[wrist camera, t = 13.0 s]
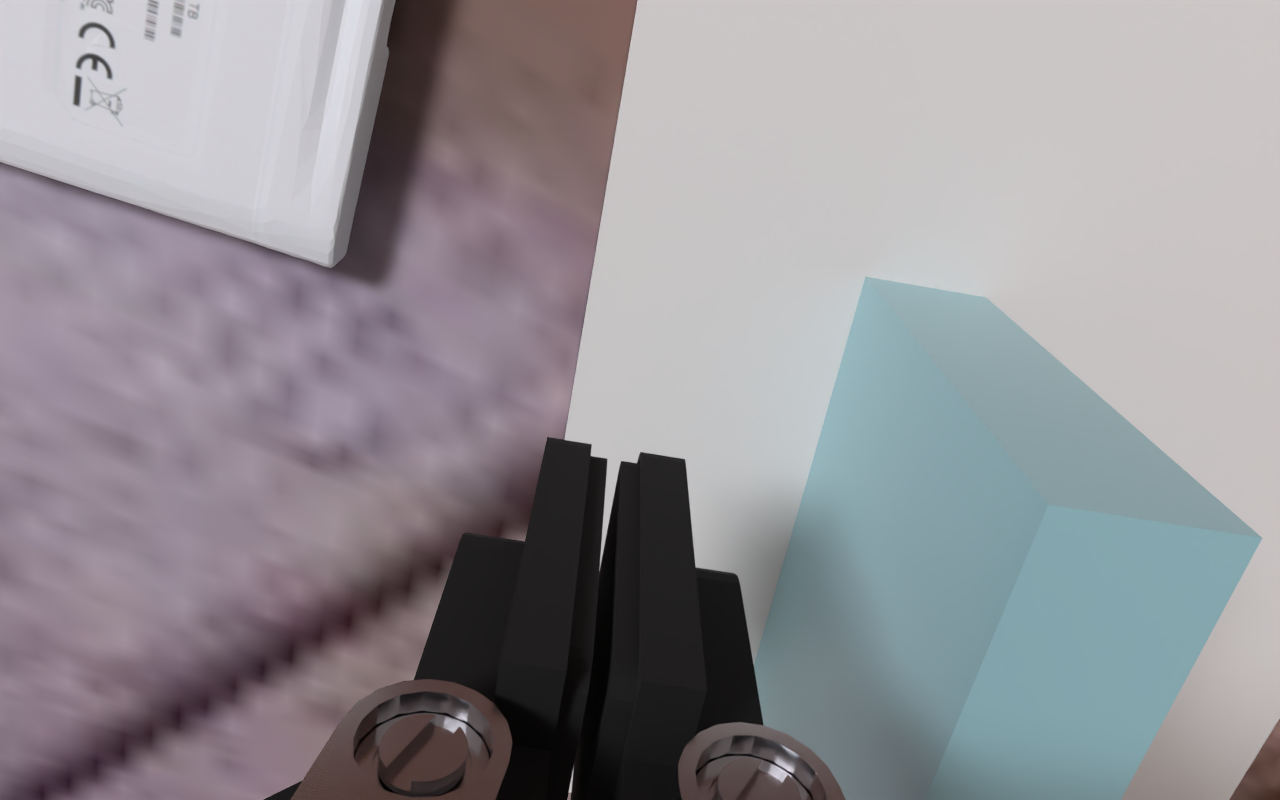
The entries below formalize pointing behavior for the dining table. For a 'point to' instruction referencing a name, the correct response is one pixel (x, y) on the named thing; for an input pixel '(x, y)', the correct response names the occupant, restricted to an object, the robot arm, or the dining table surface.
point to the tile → (986, 569)
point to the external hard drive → (201, 108)
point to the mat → (951, 262)
